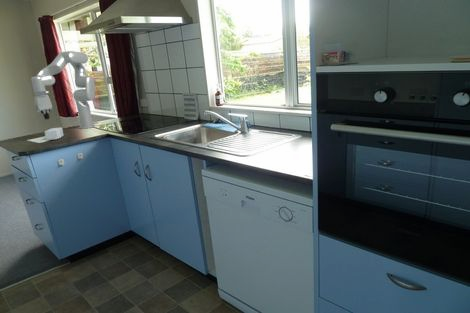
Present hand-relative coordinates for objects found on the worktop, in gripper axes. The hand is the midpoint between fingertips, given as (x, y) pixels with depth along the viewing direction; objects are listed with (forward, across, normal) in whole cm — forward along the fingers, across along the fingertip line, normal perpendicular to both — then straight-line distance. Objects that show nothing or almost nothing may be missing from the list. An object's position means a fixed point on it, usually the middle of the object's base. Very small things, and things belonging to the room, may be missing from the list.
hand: (47, 119), depth 247 cm
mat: (+14, +6, 0) cm, 15 cm away
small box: (+11, -4, +2) cm, 11 cm away
